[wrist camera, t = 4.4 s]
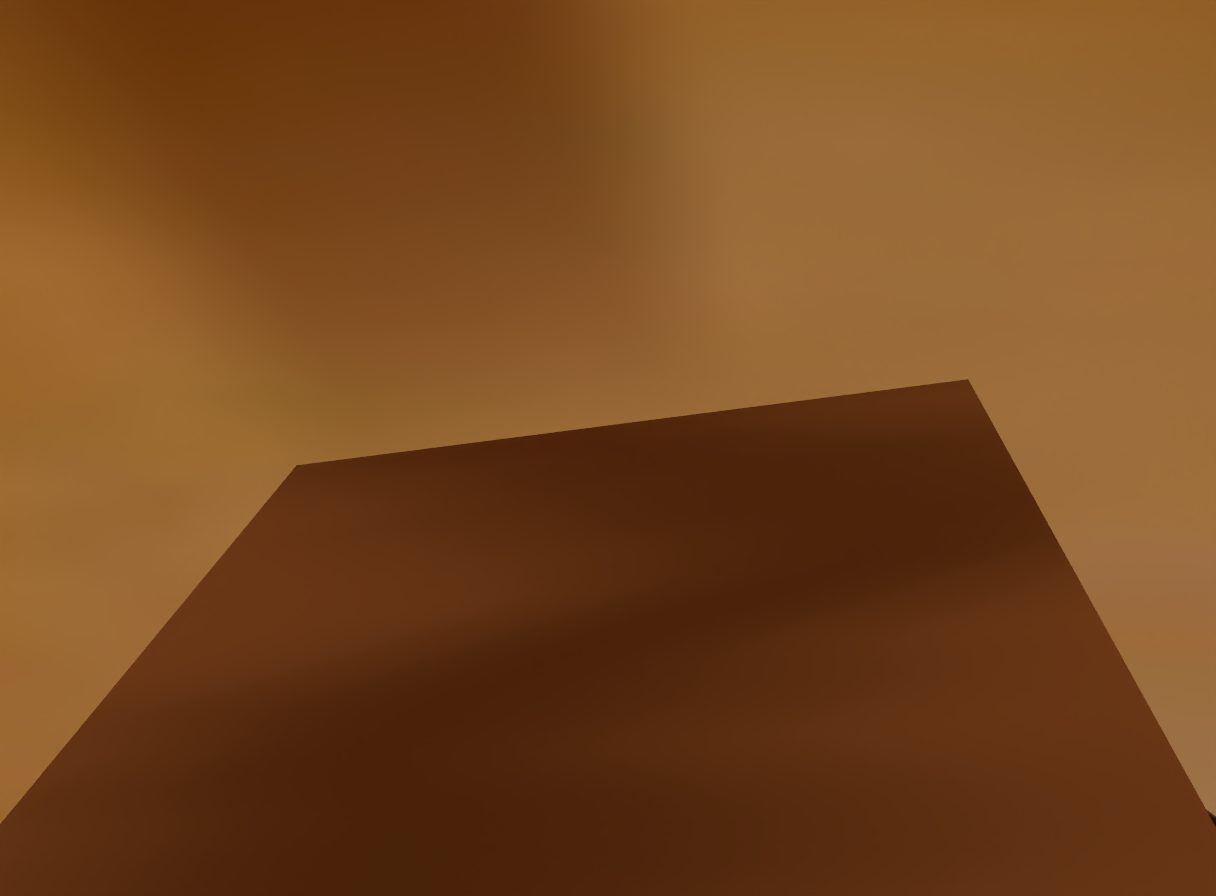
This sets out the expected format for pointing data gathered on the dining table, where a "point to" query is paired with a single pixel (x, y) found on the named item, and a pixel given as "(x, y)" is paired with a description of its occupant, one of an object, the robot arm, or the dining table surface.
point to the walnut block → (634, 682)
